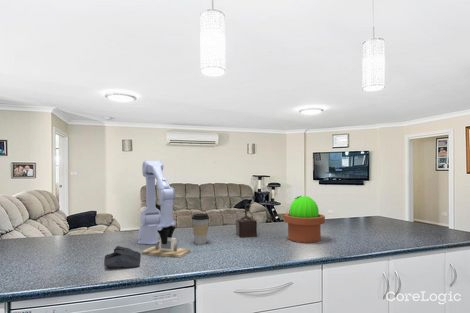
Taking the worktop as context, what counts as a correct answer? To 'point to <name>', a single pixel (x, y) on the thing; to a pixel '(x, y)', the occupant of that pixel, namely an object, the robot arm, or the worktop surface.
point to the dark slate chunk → (122, 258)
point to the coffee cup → (200, 228)
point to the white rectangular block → (168, 245)
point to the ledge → (155, 251)
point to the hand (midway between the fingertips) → (166, 243)
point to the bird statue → (246, 225)
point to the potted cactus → (304, 220)
